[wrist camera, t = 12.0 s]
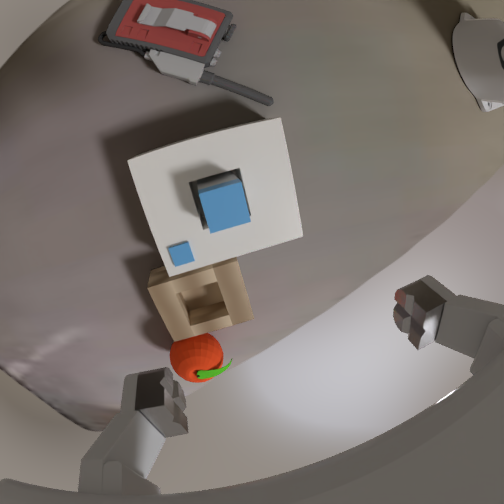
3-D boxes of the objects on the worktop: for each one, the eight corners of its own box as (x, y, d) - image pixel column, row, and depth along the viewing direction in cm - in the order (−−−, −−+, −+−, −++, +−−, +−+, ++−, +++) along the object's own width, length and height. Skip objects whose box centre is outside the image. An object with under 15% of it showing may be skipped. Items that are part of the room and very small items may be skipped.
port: (266, 118, 28) (281, 117, 23) (287, 220, 34) (304, 237, 29) (136, 155, 27) (126, 160, 22) (171, 255, 32) (169, 278, 28)
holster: (231, 245, 33) (237, 260, 30) (247, 300, 37) (254, 318, 33) (150, 270, 33) (147, 287, 29) (174, 321, 36) (174, 341, 33)
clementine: (226, 316, 37) (235, 353, 31) (228, 353, 40) (236, 389, 34) (166, 321, 36) (164, 359, 30) (174, 358, 39) (175, 396, 33)
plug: (229, 169, 29) (241, 181, 23) (237, 200, 30) (250, 221, 24) (196, 178, 28) (198, 194, 22) (205, 210, 30) (210, 233, 24)
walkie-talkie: (93, 61, 22) (265, 112, 28) (79, 53, 18) (277, 110, 24) (127, -5, 19) (294, 47, 25) (119, -21, 15) (310, 37, 22)
